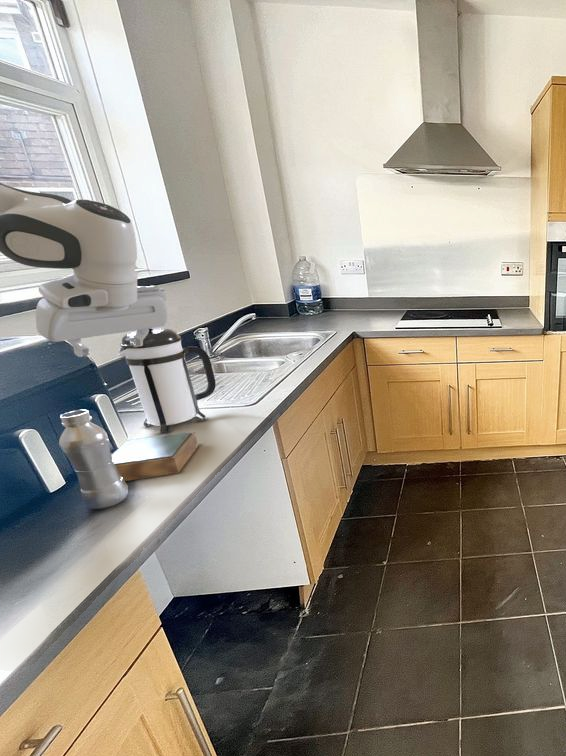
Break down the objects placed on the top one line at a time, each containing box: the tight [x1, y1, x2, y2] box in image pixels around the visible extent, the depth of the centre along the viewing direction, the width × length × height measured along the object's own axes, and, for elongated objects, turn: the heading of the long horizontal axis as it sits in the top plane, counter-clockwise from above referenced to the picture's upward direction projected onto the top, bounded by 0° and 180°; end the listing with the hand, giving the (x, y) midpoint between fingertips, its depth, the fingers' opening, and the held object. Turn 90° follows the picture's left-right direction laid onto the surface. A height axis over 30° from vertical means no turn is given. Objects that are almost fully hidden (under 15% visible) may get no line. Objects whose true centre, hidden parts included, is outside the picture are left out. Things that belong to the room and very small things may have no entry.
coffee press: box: [117, 327, 217, 434], centre depth 117 cm, size 17×16×30 cm
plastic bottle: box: [58, 409, 129, 510], centre depth 81 cm, size 6×7×20 cm
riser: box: [111, 431, 199, 482], centre depth 98 cm, size 14×14×4 cm
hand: (110, 350), depth 87 cm, fingers open, 8 cm apart
